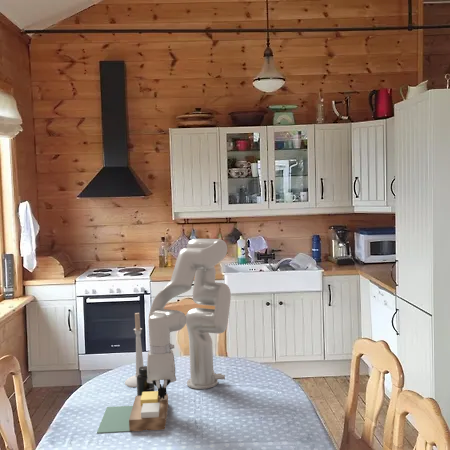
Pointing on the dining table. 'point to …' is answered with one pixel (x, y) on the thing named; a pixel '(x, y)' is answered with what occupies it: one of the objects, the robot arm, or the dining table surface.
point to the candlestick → (139, 358)
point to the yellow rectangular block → (149, 397)
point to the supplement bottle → (143, 382)
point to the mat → (115, 419)
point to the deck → (148, 423)
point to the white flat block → (150, 410)
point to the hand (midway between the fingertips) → (162, 397)
